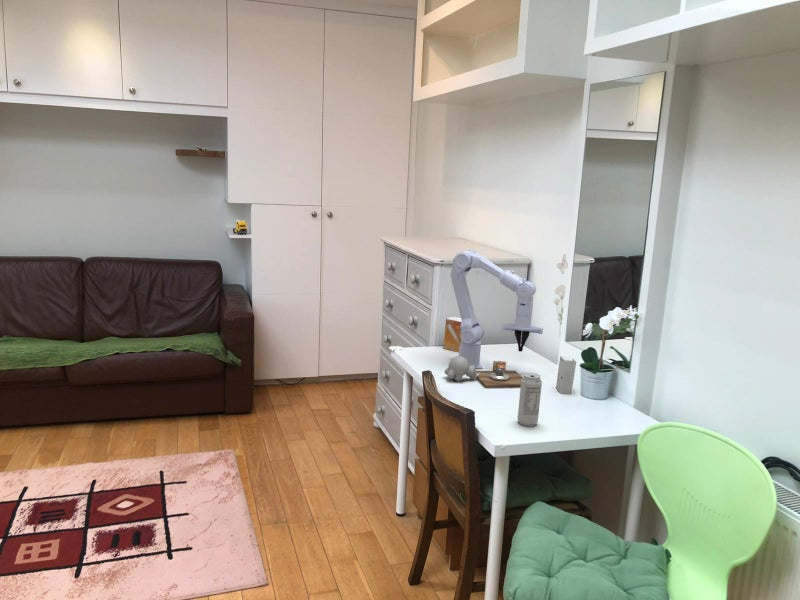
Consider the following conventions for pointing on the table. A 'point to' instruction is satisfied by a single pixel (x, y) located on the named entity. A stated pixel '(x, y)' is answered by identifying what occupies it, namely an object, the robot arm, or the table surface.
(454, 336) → the small box
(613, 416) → the table surface
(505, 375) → the dial plate
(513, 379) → the walnut board
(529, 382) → the energy drink can
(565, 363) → the skincare box
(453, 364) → the chubby cartoon animal
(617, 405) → the table surface
